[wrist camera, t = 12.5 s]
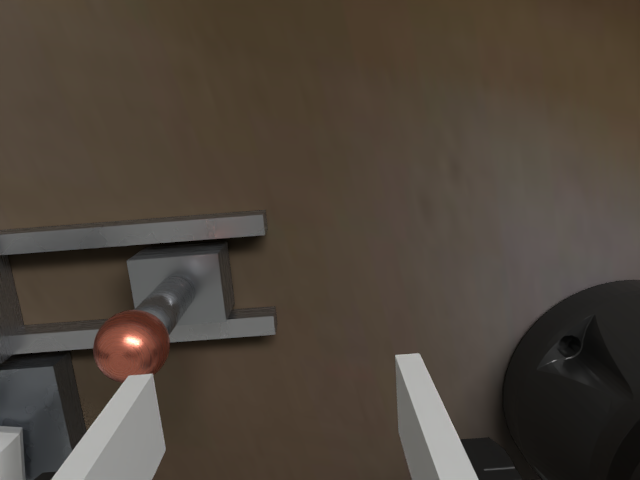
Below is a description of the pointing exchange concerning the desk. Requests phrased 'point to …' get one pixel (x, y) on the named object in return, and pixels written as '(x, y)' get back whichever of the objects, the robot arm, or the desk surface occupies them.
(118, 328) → the lever
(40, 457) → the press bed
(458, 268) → the desk surface
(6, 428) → the stamp
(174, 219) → the lever guide
